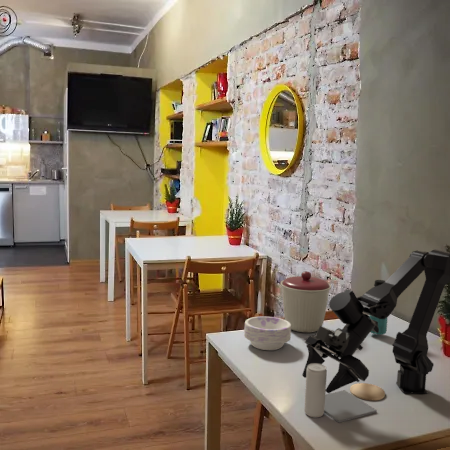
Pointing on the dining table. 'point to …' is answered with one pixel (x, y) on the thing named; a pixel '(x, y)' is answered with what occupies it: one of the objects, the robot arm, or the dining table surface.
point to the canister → (305, 302)
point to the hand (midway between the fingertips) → (314, 384)
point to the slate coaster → (345, 406)
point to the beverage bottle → (381, 322)
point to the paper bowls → (267, 332)
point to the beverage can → (315, 390)
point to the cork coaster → (367, 391)
